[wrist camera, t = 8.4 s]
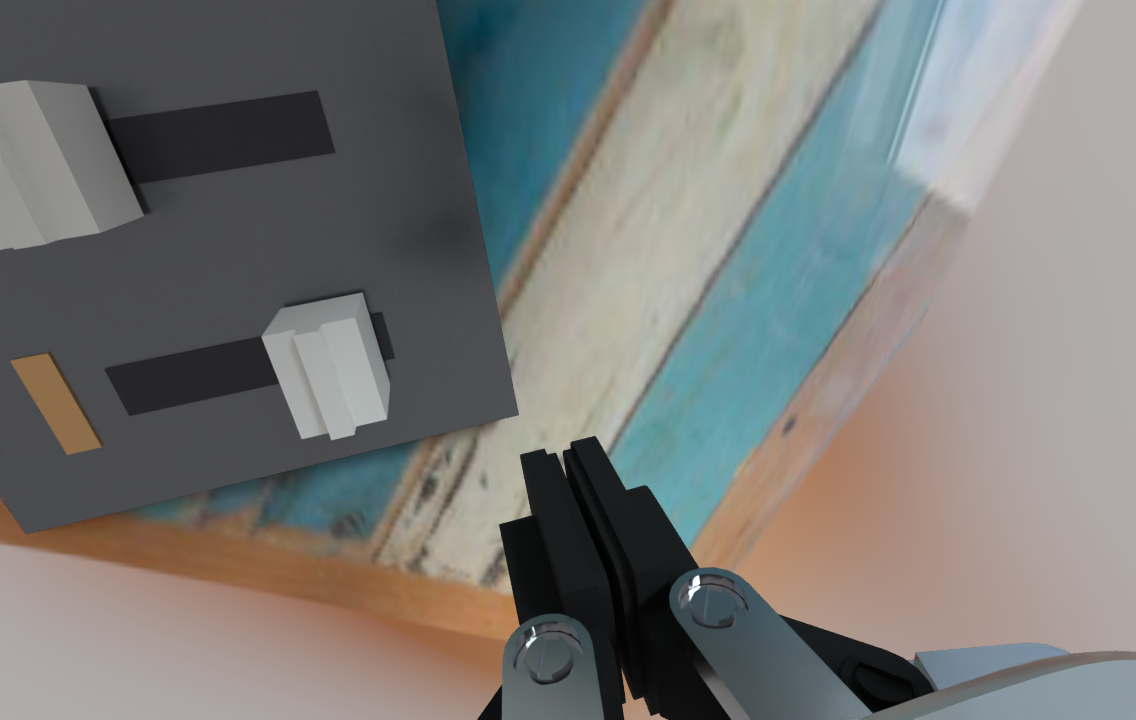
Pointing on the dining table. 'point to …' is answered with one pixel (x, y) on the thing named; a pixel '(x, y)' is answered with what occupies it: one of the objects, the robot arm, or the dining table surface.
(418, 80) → the breaker panel
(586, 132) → the dining table surface
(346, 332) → the block
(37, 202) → the breaker
